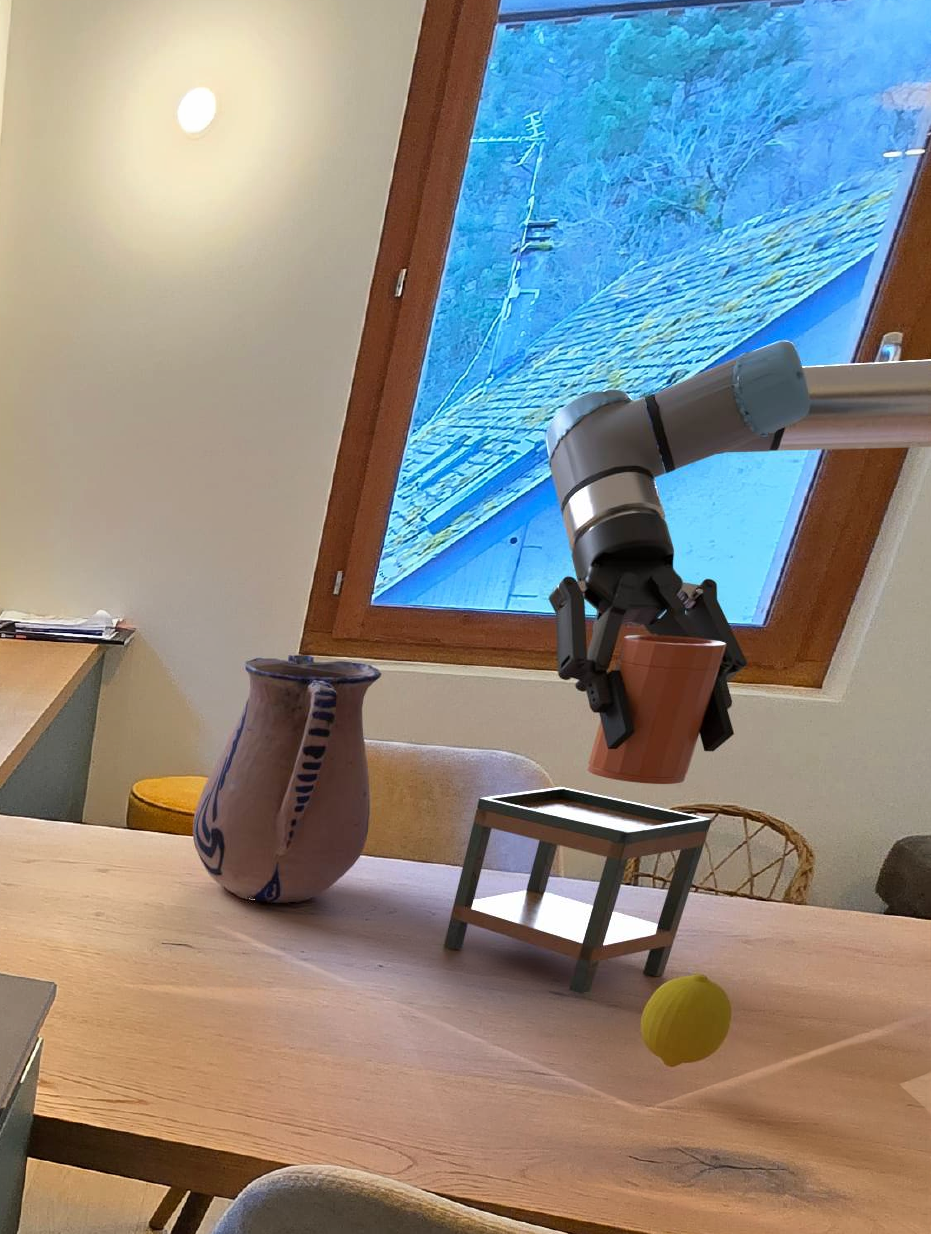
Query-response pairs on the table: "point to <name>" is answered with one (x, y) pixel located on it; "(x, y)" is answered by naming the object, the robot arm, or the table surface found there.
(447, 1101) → the table surface
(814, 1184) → the table surface
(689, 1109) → the table surface
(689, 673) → the flower pot
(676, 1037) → the lemon
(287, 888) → the ceramic pitcher
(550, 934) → the rack
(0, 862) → the table surface
